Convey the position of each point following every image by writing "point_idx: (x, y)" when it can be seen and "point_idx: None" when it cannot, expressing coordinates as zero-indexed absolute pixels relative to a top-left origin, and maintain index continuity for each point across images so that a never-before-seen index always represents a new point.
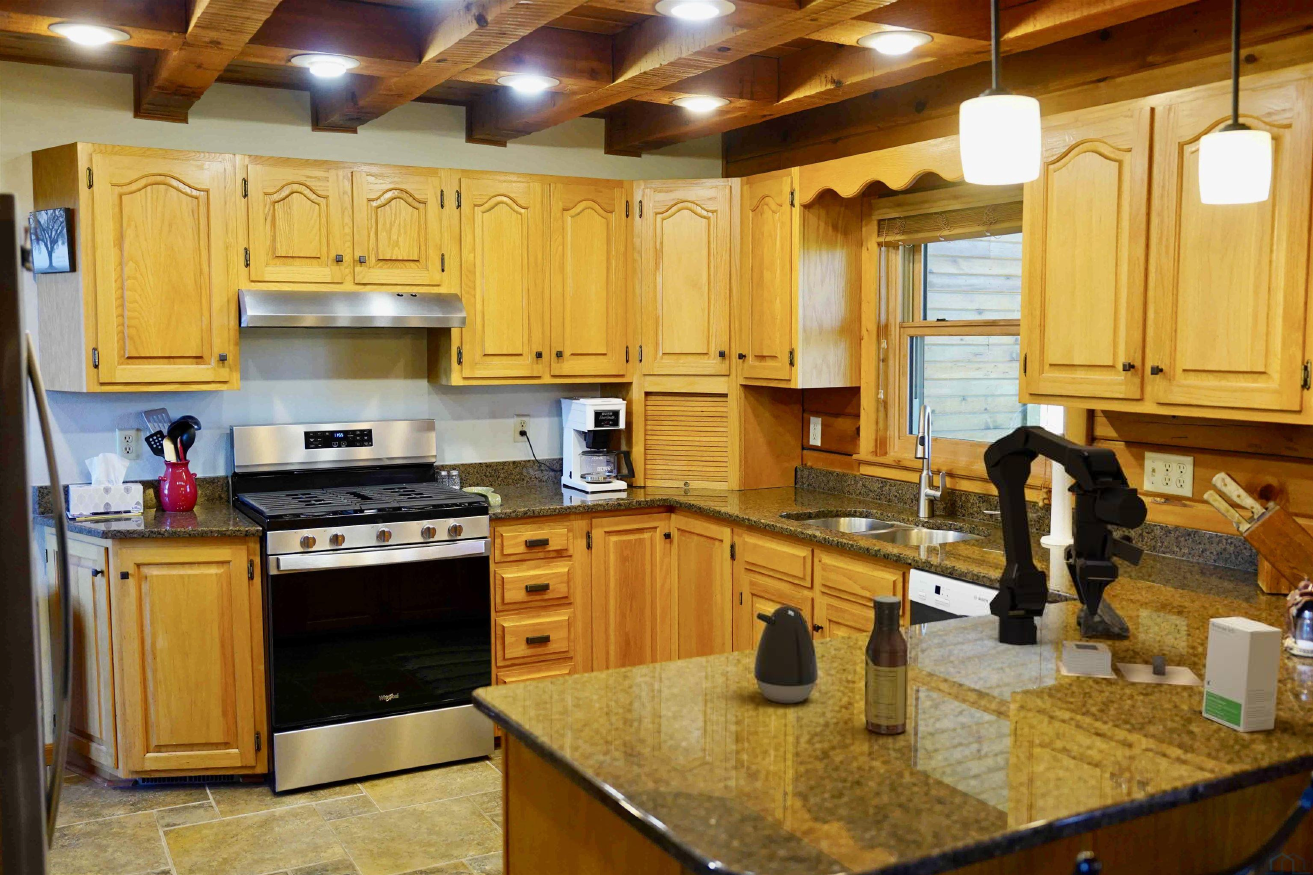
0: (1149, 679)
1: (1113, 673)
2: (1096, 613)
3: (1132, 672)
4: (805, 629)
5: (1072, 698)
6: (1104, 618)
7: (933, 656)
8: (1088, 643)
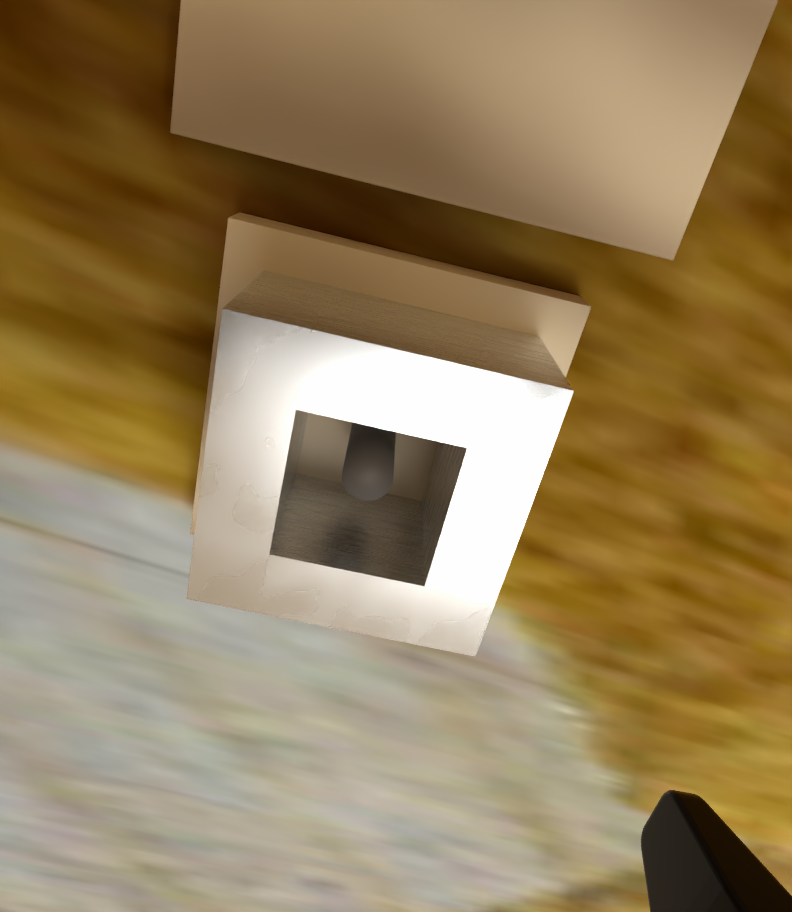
0: (658, 67)
1: (471, 284)
2: (720, 821)
3: (452, 119)
4: None
5: (776, 624)
6: None
7: (80, 902)
8: (241, 443)
